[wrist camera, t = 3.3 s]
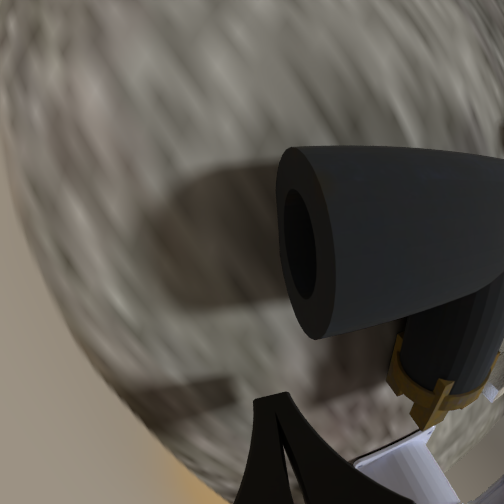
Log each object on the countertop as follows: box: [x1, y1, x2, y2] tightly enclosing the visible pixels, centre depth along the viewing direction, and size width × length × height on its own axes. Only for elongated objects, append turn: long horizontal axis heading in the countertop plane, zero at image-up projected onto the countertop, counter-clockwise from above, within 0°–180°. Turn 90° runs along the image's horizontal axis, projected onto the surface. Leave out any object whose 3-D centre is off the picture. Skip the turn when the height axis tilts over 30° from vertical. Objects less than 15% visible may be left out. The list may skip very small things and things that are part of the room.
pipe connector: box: [276, 146, 504, 432], centre depth 9 cm, size 12×5×15 cm
